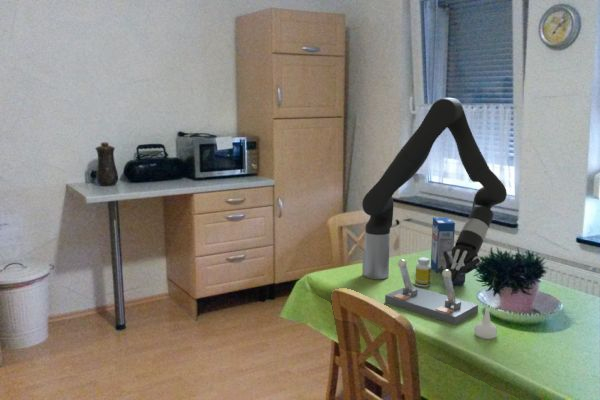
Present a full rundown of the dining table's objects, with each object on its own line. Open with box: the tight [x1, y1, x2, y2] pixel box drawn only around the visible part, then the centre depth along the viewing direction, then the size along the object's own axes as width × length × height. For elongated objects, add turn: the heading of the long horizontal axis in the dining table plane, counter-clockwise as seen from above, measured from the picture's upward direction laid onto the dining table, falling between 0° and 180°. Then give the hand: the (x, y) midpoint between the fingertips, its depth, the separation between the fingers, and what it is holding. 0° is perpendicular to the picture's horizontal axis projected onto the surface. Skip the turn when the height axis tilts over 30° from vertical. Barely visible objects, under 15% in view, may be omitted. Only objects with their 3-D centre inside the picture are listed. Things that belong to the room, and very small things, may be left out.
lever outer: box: [441, 269, 456, 306], centre depth 171 cm, size 3×3×13 cm
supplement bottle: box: [414, 256, 432, 288], centre depth 201 cm, size 5×5×10 cm
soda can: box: [446, 255, 466, 287], centre depth 201 cm, size 7×7×12 cm
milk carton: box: [430, 217, 456, 274], centre depth 218 cm, size 10×6×20 cm, turn 179°
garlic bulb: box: [473, 308, 498, 340], centre depth 159 cm, size 6×6×8 cm
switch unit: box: [384, 285, 479, 326], centre depth 180 cm, size 26×14×4 cm, turn 45°
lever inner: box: [397, 259, 413, 293], centre depth 182 cm, size 3×3×13 cm
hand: (451, 281), depth 171 cm, fingers closed
